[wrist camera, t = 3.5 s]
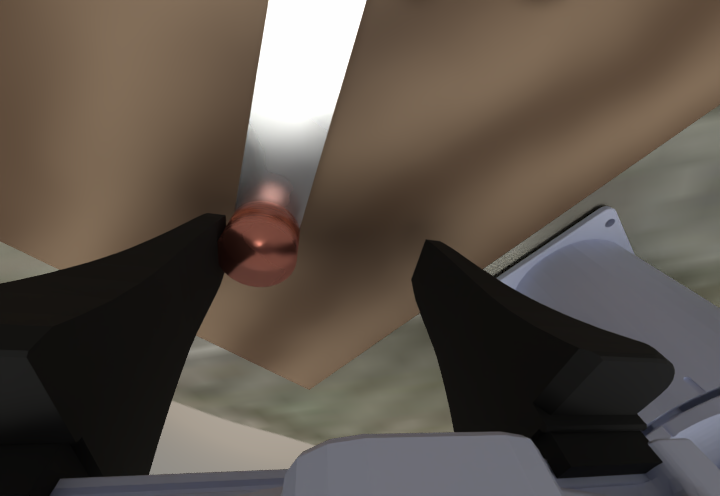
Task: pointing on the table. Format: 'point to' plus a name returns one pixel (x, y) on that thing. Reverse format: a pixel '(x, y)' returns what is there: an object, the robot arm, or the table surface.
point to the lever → (286, 134)
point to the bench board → (336, 141)
